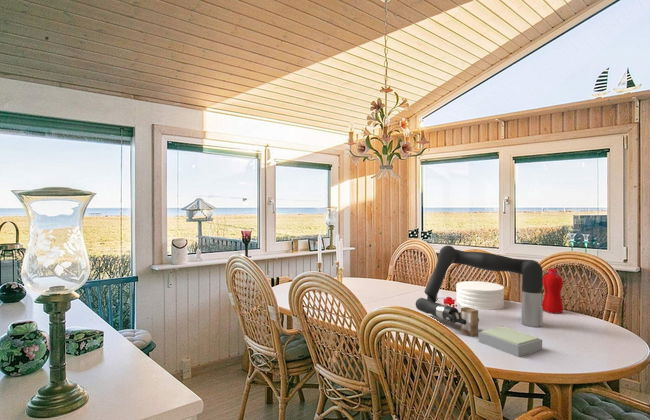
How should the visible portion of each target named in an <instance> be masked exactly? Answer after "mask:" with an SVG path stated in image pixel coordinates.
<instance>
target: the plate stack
mask: <svg viewBox="0 0 650 420" xmlns="http://www.w3.org/2000/svg"><path fill="white" fill-rule="evenodd" d="M504 290H505V287H504V286H503V285H502V284H499V283H494V282H488V281H478V280H476V281H475V280H466V281H464V280H463V281H459V282H457V283H455V291H456V292H455V299H456V300H455V303H456V302H457V303H459V304H460V306H461V307H469V308H472V309H475V310H498V309H499V308H500V309H502V308H504V307H505V303H504V302H505V300H504V299H505V295H504V294H505V291H504ZM457 303H456V304H457ZM459 304H458V305H459Z"/></svg>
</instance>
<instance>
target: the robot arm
mask: <svg viewBox="0 0 650 420" xmlns="http://www.w3.org/2000/svg"><path fill="white" fill-rule="evenodd" d="M451 264H456V265H457V264H458V265H465V266H469V267H472V268H476V269H481V270H485V271H489V272H508V273H509V272H510V273H515V274H519V275H521V278H522V280H521V281H522V282H521V283H522V284H521V324H522V325H523V326H527V327H531V328H532V327H533V328H534V327H535V328H539V327H543V326H544V325H543V324H544V321H543V319H544V310H543V308H542V303H543V299H542V297H543V295H542V293H543V277H544V275H543V273H544V271H543V267H542V265H541V264H540V263H539V262H538V261H536V260H534V259H522V258H521V259H520V258H514V257H513V258H512V257H509V256H505V255H501V254H495V253H490V252H482V251H464V250H460V249H456V248H454V247H453V246H452V245H444V246H442V247H441V248H440V250H439V254H438V258H437V262H436V264H435V268H434V269H433V272H432V274H431V275H430V277H431V278H429V280H428V282H427V284H426V287H425V288H424V294H425V295H426V296H427V298H423V297H420V298H418V299H416V301H415V308H416V309H417V310H418V311H419V312H422V313H425V314H427V315H428V314H430V315H432V316H434V317H437V318H439V319H441V320H444V321H446V322H450V323H451V324H456V323H457V324H460V325H461V324H464V325H466V320H464V319H461V311H459V310H458V309H457V308H456V307H454V306H450V305H447V304H442V303H439V302H437V301H436V297H437V298H438V294H439V291H440V289H441V288H442V286H443V284H442V282H443V283H444V279H445V276H446V273H447V271H448V269H449V267H450V266H451ZM441 285H442V286H441ZM440 287H441V288H440ZM479 322H480V318H479V317H478V323H479Z"/></svg>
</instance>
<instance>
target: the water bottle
mask: <svg viewBox="0 0 650 420" xmlns="http://www.w3.org/2000/svg"><path fill="white" fill-rule="evenodd" d="M547 270H548V271H547V272H548V273H546V274H545V275H543V282H542V287H543V290H544V296H543V299H542V308H543V312H547V313H549V314H561V313H563V311H564V305H563V300H562V296H561V294H562V289H563V284H564V282H563V278H562V277H561V276H560V275H559V274H558V269H557V268H553V267H552V268H548V269H547Z"/></svg>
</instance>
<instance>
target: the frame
mask: <svg viewBox="0 0 650 420" xmlns="http://www.w3.org/2000/svg"><path fill="white" fill-rule="evenodd" d="M460 312H461V319H464V320H466V325H464V324H461V323H460V333H462V334H464V335H467V336H470V337H478V336H479V322H478V318H479V309H474V308H469V307H464V306H462V307H460Z"/></svg>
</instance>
